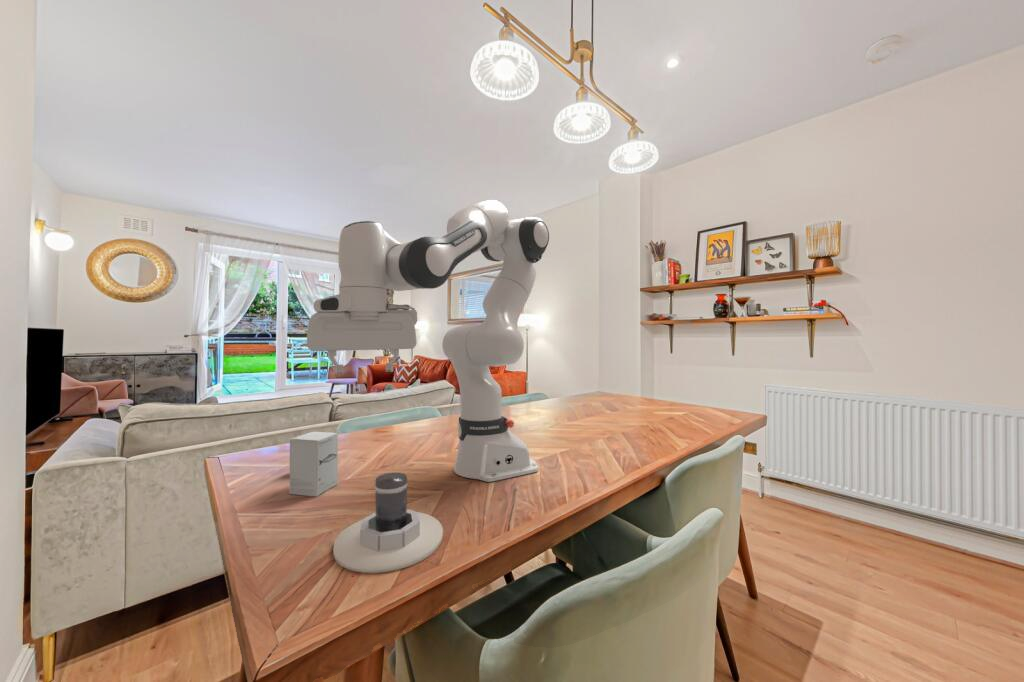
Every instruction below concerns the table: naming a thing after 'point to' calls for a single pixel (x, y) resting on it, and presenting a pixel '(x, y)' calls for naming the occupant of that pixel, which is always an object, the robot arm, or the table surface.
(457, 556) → the table surface
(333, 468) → the supplement box
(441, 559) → the table surface
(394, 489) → the lens
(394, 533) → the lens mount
